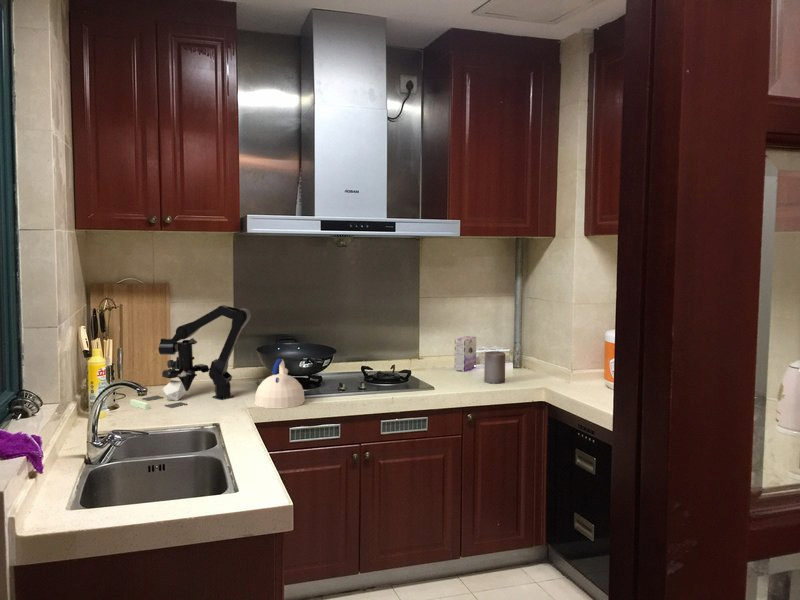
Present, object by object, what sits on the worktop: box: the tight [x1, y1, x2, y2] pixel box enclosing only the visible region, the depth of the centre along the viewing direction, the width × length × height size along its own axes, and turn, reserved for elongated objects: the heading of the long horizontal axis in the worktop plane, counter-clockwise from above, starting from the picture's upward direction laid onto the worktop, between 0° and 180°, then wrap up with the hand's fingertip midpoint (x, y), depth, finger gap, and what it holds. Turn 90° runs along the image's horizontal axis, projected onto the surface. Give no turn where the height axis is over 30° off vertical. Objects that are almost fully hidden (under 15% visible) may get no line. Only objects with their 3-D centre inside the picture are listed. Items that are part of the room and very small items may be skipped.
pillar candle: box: [483, 350, 506, 385], centre depth 301 cm, size 10×10×15 cm
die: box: [162, 380, 187, 402], centre depth 267 cm, size 8×9×10 cm
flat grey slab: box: [129, 394, 188, 410], centre depth 261 cm, size 23×15×2 cm, turn 50°
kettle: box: [254, 358, 306, 410], centre depth 262 cm, size 20×21×18 cm
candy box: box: [454, 335, 477, 373], centre depth 332 cm, size 14×6×16 cm, turn 147°
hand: (186, 391), depth 271 cm, fingers closed
